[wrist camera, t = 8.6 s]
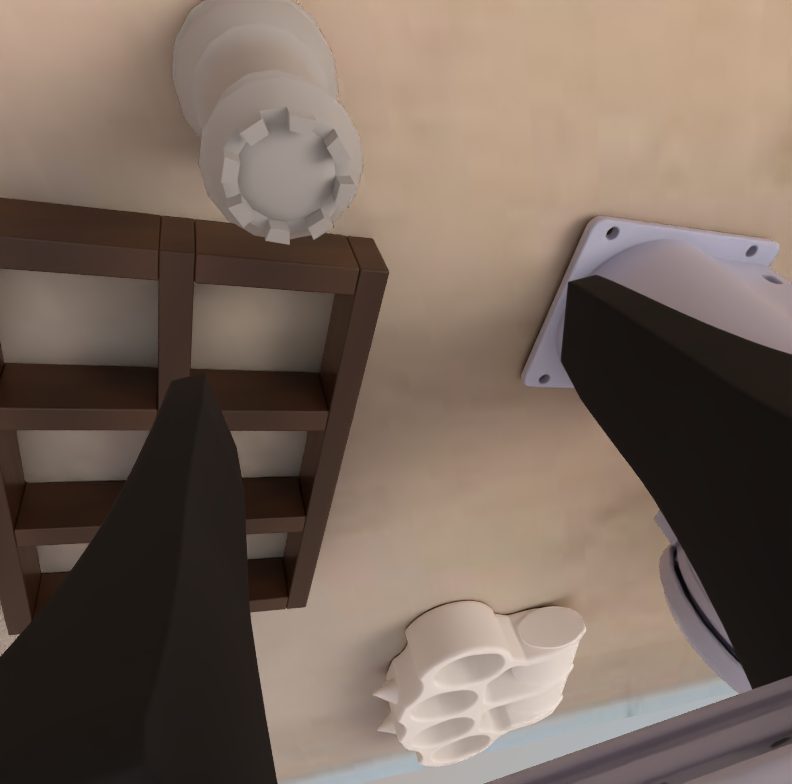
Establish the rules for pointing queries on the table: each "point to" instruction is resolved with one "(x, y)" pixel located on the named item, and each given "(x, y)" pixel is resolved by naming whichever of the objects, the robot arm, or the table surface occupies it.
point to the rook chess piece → (267, 116)
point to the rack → (146, 387)
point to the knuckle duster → (476, 677)
